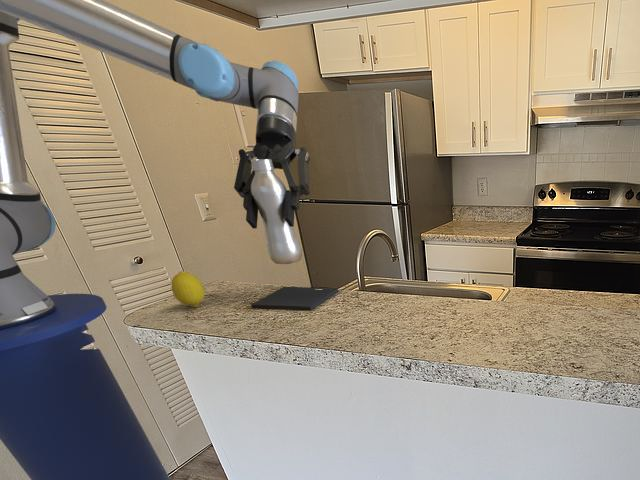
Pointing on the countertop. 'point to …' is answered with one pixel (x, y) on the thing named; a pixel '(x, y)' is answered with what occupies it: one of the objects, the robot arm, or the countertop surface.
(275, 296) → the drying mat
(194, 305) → the lemon
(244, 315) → the countertop surface
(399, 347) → the countertop surface
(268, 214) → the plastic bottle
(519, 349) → the countertop surface
